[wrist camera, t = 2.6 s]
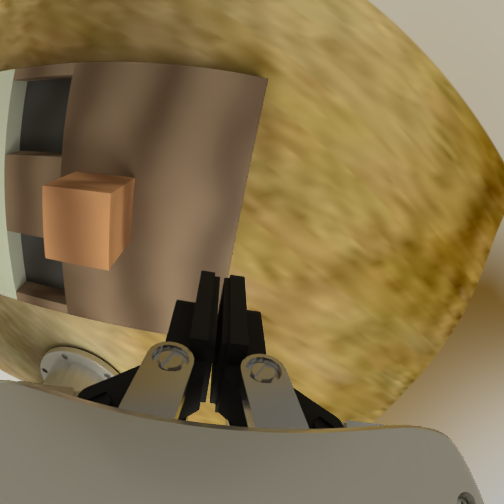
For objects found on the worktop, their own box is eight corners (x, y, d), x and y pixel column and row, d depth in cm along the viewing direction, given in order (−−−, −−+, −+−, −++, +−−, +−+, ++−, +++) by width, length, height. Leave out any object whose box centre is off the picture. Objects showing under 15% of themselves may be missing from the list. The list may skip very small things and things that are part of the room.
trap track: (264, 83, 21) (268, 78, 19) (216, 325, 29) (216, 341, 27) (30, 71, 18) (15, 68, 16) (28, 287, 26) (17, 299, 24)
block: (135, 177, 21) (110, 193, 16) (130, 241, 23) (108, 270, 18) (76, 171, 20) (42, 185, 15) (74, 232, 22) (45, 258, 17)
